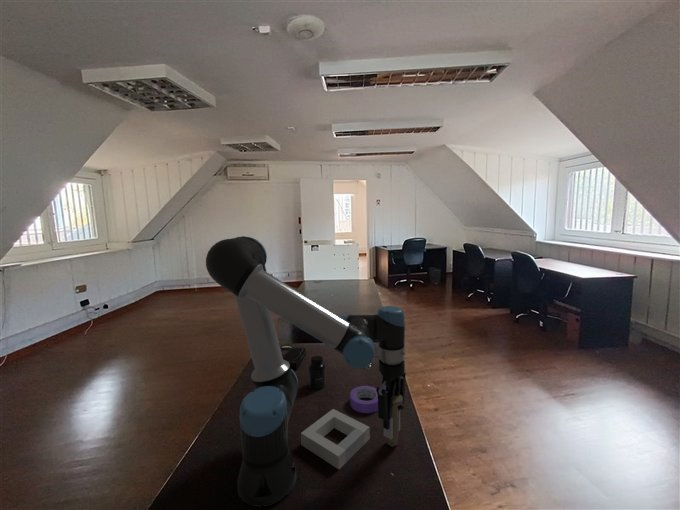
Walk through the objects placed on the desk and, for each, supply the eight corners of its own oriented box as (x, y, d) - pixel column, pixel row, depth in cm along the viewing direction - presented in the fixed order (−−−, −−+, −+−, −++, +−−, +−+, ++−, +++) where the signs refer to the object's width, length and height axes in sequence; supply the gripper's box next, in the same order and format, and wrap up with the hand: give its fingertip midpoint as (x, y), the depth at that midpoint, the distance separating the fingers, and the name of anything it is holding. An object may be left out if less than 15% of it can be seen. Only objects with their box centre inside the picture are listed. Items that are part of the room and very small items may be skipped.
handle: (403, 450, 91) (403, 402, 89) (381, 448, 91) (381, 401, 90) (402, 438, 95) (402, 393, 94) (381, 437, 96) (381, 392, 94)
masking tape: (388, 403, 114) (387, 393, 114) (368, 418, 106) (368, 408, 105) (363, 391, 122) (363, 382, 122) (343, 404, 114) (343, 395, 113)
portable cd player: (273, 354, 159) (273, 346, 158) (305, 355, 156) (305, 348, 156) (261, 369, 143) (260, 361, 142) (296, 371, 140) (296, 363, 140)
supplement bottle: (319, 391, 122) (318, 363, 121) (305, 387, 126) (304, 359, 125) (328, 383, 128) (328, 356, 127) (315, 379, 132) (314, 352, 130)
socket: (339, 469, 84) (338, 456, 84) (301, 445, 94) (300, 433, 93) (369, 438, 96) (369, 426, 95) (333, 419, 105) (333, 408, 105)
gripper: (387, 374, 81) (388, 455, 84) (416, 352, 94) (416, 422, 97) (364, 366, 86) (365, 443, 89) (394, 346, 99) (395, 413, 102)
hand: (392, 432), depth 93 cm, fingers closed on handle, 4 cm apart
